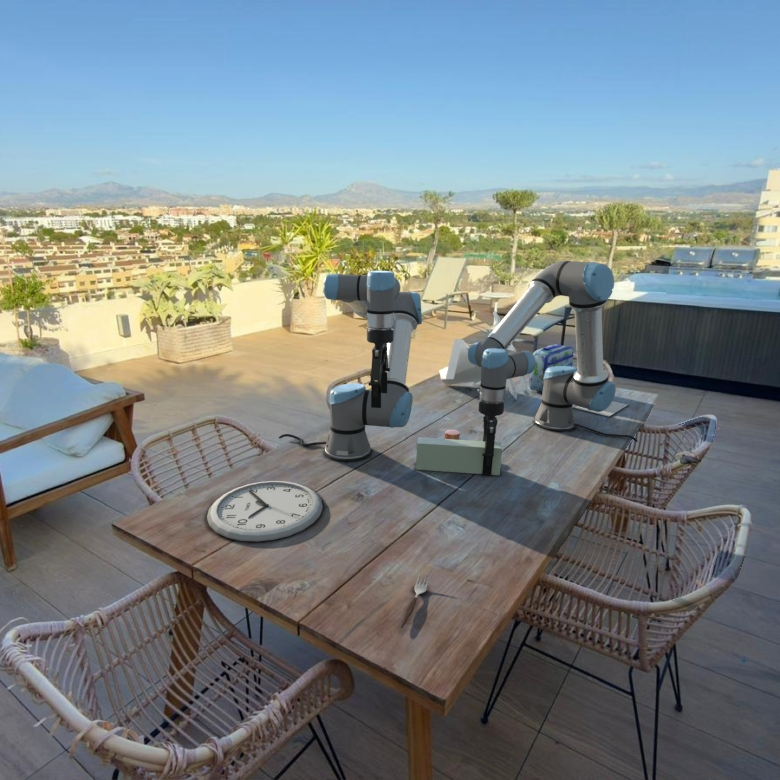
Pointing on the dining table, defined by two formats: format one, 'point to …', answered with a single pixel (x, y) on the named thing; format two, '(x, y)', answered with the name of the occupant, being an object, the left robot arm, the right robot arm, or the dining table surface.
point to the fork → (419, 589)
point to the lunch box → (549, 363)
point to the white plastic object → (471, 366)
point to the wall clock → (264, 511)
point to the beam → (455, 455)
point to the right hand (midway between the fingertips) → (486, 470)
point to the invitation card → (607, 409)
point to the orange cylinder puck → (452, 434)
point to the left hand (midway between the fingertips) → (379, 399)
